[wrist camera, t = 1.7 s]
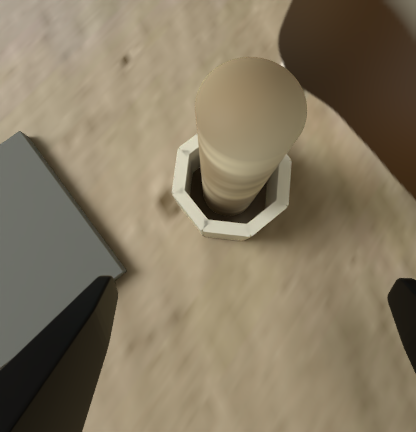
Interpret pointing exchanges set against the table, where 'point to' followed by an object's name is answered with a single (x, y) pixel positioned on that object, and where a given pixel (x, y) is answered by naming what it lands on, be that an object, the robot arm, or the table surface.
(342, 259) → the table surface
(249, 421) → the table surface
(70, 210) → the rubber mat
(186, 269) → the table surface
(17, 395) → the robot arm
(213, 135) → the birch peg
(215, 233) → the holder cup
